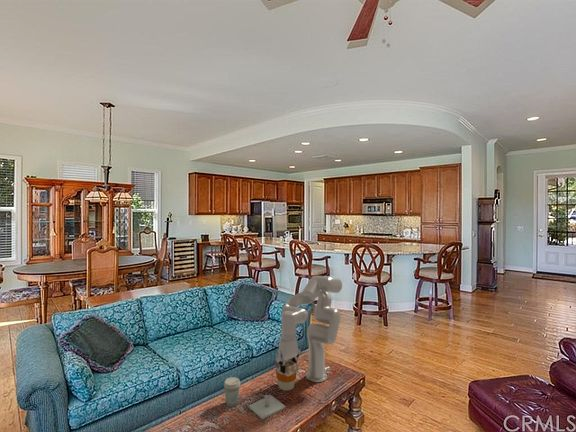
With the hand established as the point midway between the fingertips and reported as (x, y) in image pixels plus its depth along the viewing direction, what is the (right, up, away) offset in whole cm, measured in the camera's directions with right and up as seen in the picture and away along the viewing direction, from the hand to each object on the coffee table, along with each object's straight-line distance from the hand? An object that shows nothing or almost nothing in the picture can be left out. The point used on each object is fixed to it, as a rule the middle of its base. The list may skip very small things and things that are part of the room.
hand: (288, 369), depth 166 cm
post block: (-11, -18, -2) cm, 21 cm away
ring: (0, -1, 0) cm, 1 cm away
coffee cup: (-29, -18, +1) cm, 34 cm away
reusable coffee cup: (-1, -17, +17) cm, 25 cm away
